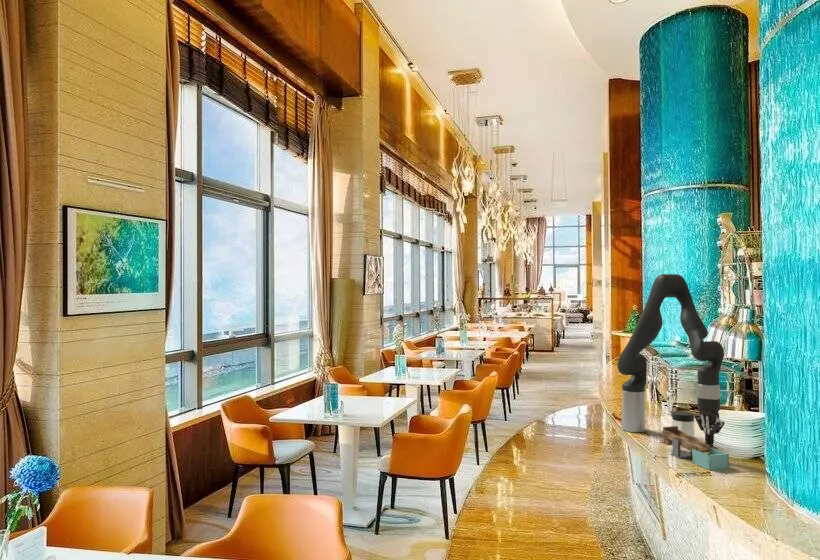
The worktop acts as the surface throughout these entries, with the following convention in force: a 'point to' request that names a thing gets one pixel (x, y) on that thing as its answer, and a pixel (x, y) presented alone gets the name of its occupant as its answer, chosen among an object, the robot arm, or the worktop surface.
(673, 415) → the jar
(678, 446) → the fulcrum
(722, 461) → the box
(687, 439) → the lever
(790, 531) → the worktop surface
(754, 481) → the worktop surface
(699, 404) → the robot arm
